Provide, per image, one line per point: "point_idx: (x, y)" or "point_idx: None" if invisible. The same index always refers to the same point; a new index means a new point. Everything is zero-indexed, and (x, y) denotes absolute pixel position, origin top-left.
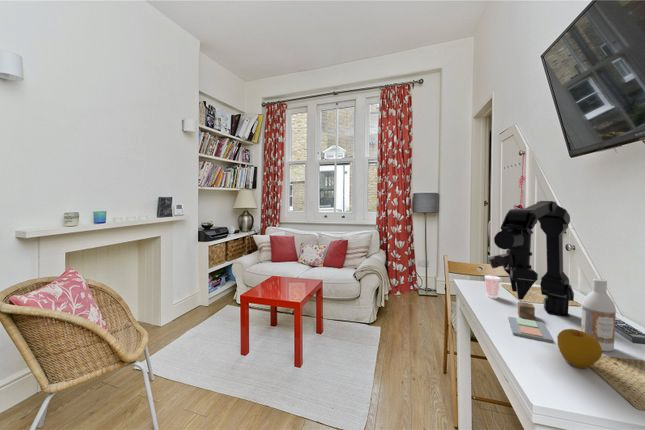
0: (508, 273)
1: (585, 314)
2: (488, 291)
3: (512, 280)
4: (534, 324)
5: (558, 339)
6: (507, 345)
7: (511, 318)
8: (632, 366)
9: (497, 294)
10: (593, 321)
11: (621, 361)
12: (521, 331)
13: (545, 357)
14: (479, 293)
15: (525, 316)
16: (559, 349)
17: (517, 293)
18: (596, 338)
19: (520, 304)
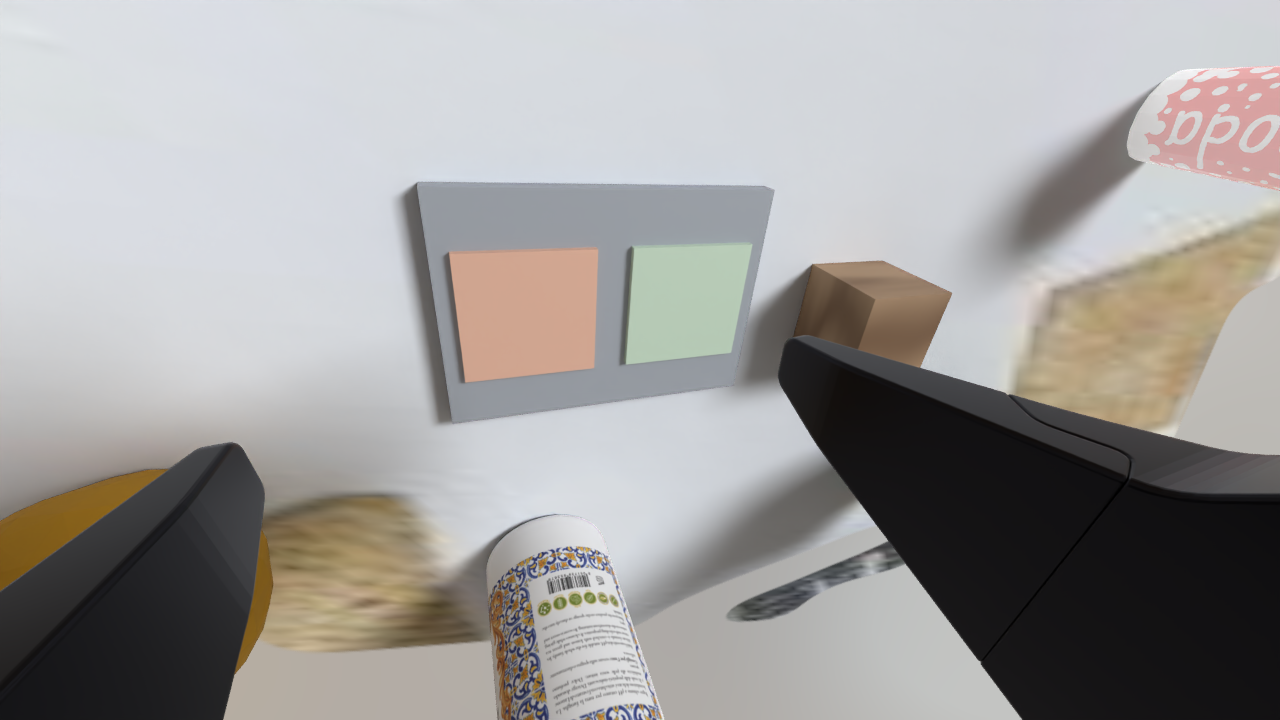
0: (1271, 513)
1: (550, 702)
2: (1219, 87)
3: (966, 452)
4: (666, 347)
5: (12, 560)
6: (51, 90)
7: (740, 209)
8: (387, 636)
9: (1160, 160)
10: (507, 700)
11: (416, 613)
12: (467, 257)
13: (90, 369)
14: (1241, 16)
15: (810, 303)
16: (78, 495)
17: (114, 532)
18: (492, 609)
19: (897, 306)
